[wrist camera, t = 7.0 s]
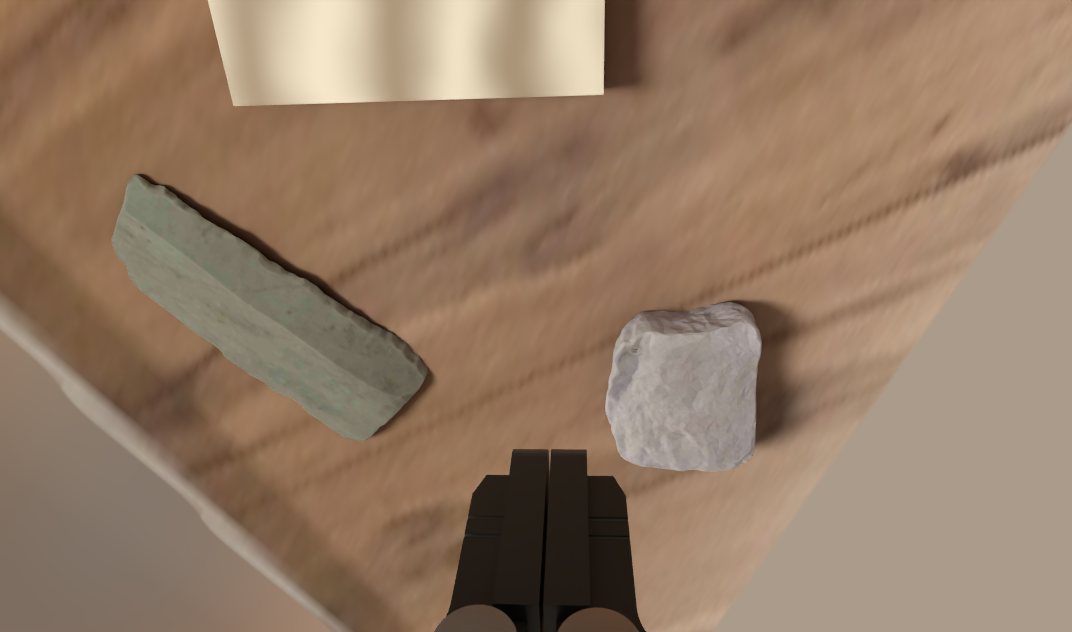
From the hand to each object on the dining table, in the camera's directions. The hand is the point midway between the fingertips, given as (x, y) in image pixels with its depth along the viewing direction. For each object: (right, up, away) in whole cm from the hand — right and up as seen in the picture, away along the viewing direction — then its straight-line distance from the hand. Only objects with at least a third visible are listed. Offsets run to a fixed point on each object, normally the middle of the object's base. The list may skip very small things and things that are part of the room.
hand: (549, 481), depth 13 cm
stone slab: (-19, +4, +31) cm, 36 cm away
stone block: (+9, -1, +31) cm, 33 cm away
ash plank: (-7, +20, +20) cm, 29 cm away
